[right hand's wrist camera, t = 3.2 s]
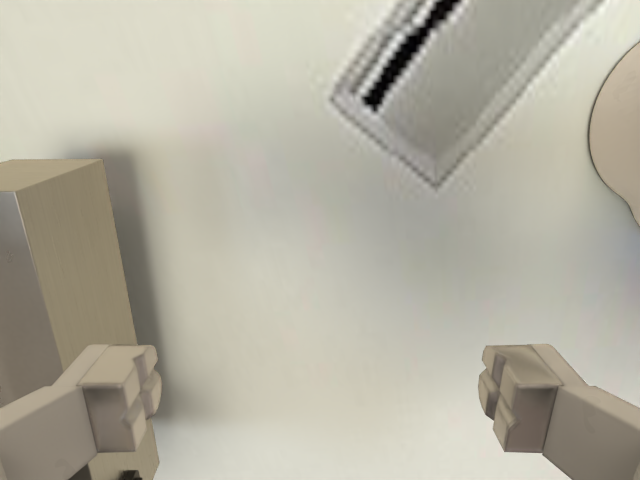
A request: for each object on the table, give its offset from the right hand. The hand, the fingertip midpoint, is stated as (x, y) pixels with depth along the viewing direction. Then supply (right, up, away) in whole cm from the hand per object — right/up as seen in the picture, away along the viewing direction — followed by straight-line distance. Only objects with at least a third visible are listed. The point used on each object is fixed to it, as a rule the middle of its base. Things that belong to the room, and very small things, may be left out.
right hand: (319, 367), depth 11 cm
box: (-18, -4, +24) cm, 30 cm away
